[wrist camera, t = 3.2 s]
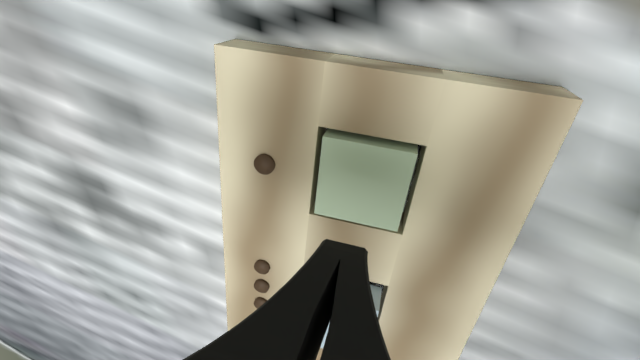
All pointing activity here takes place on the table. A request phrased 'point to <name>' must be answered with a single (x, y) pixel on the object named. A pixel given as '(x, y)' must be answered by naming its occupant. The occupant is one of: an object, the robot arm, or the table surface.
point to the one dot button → (364, 178)
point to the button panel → (424, 195)
